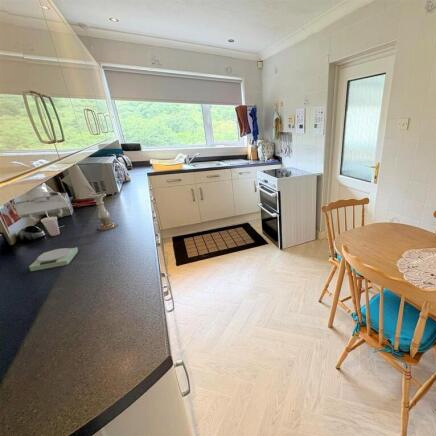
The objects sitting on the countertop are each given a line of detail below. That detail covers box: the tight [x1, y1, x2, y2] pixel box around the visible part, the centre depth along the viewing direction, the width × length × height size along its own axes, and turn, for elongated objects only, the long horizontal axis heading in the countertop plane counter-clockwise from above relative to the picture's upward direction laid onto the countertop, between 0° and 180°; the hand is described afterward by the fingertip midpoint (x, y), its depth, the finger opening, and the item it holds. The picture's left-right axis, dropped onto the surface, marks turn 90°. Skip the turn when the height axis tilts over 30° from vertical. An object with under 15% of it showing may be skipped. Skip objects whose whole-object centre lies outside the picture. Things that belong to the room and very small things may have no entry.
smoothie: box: [40, 211, 61, 237], centre depth 126 cm, size 6×6×14 cm
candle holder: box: [88, 192, 117, 231], centre depth 134 cm, size 9×9×20 cm
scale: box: [28, 246, 79, 272], centre depth 103 cm, size 12×13×3 cm
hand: (49, 219), depth 126 cm, fingers open, 8 cm apart
